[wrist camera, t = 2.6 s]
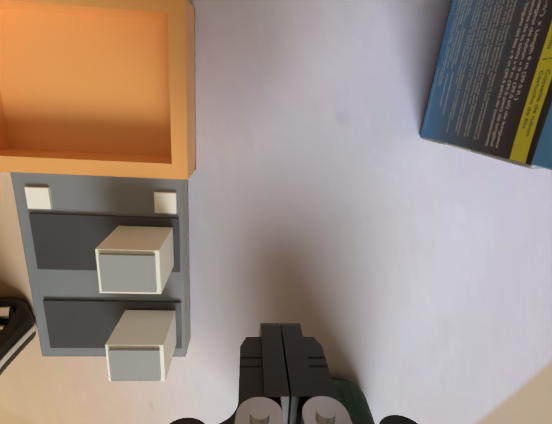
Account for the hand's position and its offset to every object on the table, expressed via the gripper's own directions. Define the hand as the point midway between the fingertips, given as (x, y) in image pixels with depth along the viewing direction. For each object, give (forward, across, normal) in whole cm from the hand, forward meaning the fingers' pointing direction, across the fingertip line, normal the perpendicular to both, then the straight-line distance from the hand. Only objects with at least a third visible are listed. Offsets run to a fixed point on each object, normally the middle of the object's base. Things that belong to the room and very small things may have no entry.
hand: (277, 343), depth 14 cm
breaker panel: (+10, +10, +2) cm, 14 cm away
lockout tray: (+10, +10, -9) cm, 17 cm away
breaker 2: (+8, +7, +5) cm, 12 cm away
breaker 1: (+8, +7, 0) cm, 11 cm away
